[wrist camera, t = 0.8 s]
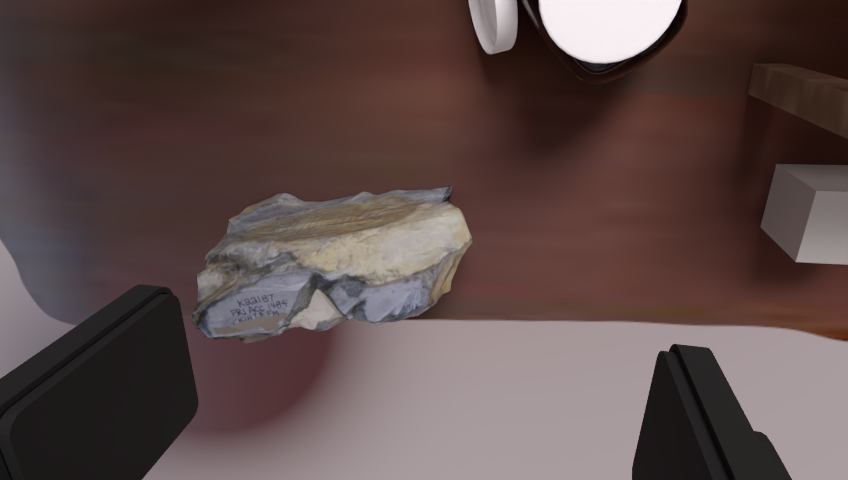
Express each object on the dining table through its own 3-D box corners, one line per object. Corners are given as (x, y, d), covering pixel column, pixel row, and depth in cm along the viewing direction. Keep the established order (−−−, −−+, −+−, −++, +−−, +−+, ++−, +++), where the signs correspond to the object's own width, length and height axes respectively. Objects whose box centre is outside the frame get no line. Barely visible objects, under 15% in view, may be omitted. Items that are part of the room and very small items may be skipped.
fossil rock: (454, 159, 47) (476, 234, 33) (466, 253, 51) (490, 353, 37) (228, 194, 47) (160, 282, 34) (258, 284, 51) (208, 394, 38)
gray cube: (776, 163, 39) (816, 190, 33) (853, 165, 38) (907, 193, 33) (760, 226, 41) (795, 262, 35) (832, 229, 40) (880, 266, 35)
